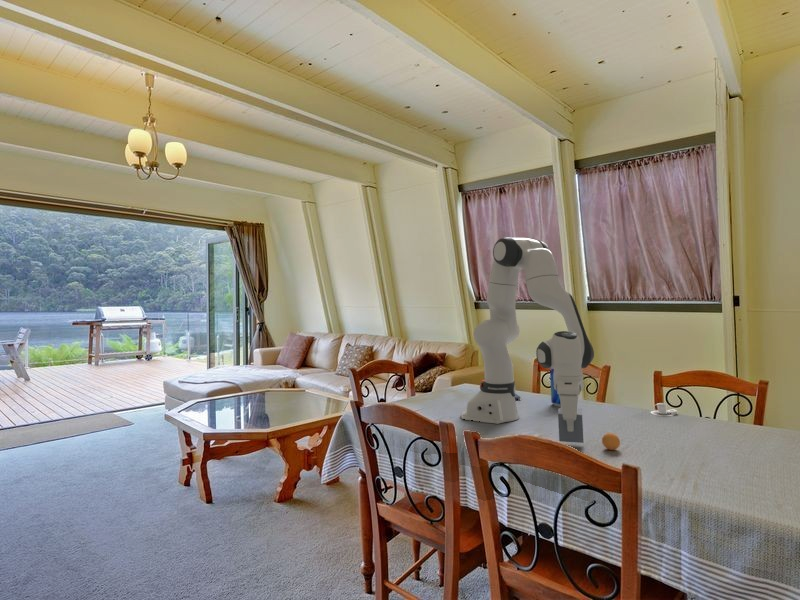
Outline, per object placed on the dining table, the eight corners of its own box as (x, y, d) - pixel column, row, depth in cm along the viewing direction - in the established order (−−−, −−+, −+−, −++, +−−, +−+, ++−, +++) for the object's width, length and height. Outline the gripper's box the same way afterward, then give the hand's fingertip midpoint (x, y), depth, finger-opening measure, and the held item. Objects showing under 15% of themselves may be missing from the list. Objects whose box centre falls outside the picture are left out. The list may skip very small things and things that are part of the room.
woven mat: (515, 396, 217) (515, 391, 217) (521, 401, 206) (521, 397, 206) (493, 397, 216) (493, 393, 216) (498, 402, 206) (498, 398, 206)
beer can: (573, 407, 190) (572, 369, 190) (552, 407, 192) (551, 369, 191) (570, 402, 198) (569, 365, 198) (550, 402, 200) (548, 365, 200)
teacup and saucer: (679, 414, 176) (679, 403, 175) (673, 419, 170) (672, 408, 170) (654, 410, 182) (653, 400, 182) (647, 415, 176) (647, 404, 176)
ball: (602, 451, 139) (602, 435, 139) (601, 446, 144) (601, 430, 144) (620, 453, 138) (620, 436, 137) (619, 447, 142) (618, 431, 142)
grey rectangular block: (559, 441, 143) (558, 413, 143) (559, 434, 150) (558, 408, 149) (583, 442, 140) (582, 414, 140) (583, 435, 147) (581, 408, 147)
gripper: (558, 377, 156) (560, 417, 156) (556, 389, 136) (559, 436, 137) (578, 377, 153) (580, 418, 154) (579, 390, 134) (582, 437, 134)
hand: (570, 426), depth 145 cm, fingers closed on grey rectangular block, 7 cm apart
